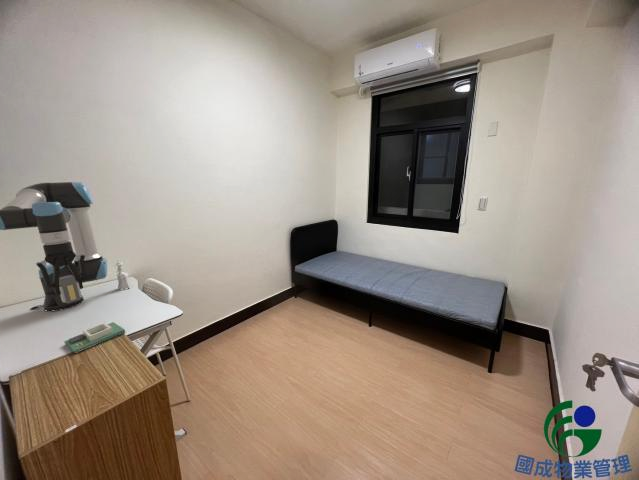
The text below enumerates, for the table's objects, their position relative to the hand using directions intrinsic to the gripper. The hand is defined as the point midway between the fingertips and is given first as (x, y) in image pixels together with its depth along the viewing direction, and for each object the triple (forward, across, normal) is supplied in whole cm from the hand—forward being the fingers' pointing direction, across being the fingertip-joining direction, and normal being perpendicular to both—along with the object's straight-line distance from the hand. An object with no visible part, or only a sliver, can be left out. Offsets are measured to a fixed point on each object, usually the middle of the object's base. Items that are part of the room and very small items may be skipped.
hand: (72, 299), depth 100 cm
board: (+18, +3, -6) cm, 19 cm away
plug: (+1, 0, 0) cm, 1 cm away
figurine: (+17, +32, +48) cm, 60 cm away
